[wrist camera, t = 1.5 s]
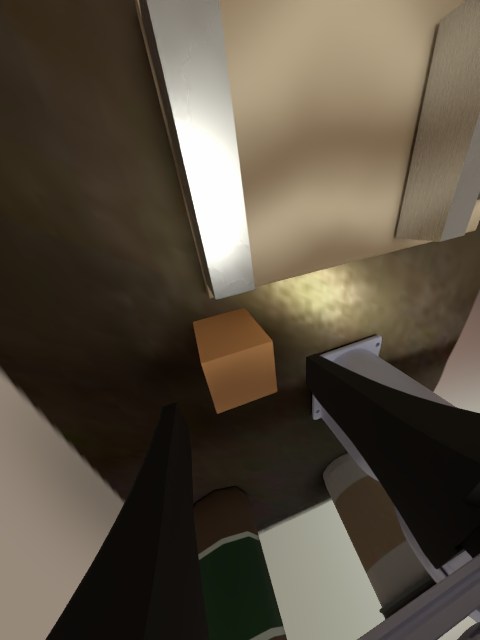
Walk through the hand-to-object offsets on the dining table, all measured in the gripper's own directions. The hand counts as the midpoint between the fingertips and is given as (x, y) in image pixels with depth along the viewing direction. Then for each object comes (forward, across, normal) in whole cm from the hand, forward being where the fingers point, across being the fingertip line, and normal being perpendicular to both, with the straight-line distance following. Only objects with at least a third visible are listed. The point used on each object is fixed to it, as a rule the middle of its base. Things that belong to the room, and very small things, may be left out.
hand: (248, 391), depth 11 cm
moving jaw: (+4, -18, -10) cm, 21 cm away
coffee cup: (+6, -14, +31) cm, 35 cm away
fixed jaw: (+4, -1, -10) cm, 11 cm away
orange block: (+6, 0, 0) cm, 6 cm away
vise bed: (+6, -10, -10) cm, 15 cm away
